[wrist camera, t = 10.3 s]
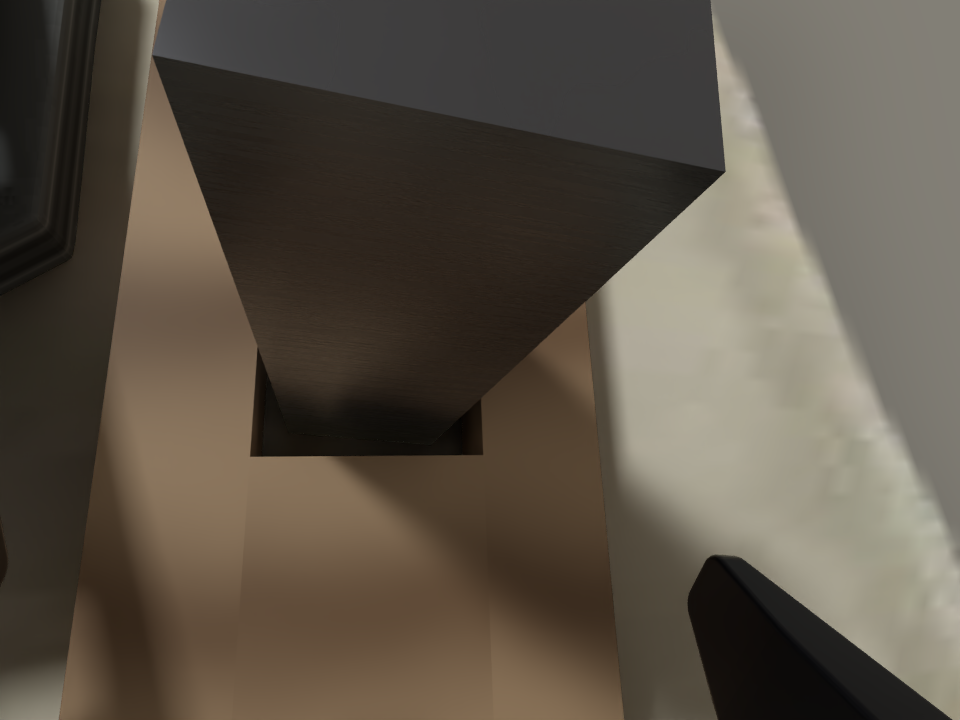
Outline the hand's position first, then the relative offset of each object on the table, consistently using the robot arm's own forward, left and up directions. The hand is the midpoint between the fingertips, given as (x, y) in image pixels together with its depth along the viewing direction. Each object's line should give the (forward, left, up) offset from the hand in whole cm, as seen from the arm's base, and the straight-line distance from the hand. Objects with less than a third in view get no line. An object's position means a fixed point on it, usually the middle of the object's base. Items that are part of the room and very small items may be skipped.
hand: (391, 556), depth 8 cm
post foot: (+5, 0, -9) cm, 10 cm away
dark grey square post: (+5, 0, -9) cm, 10 cm away
